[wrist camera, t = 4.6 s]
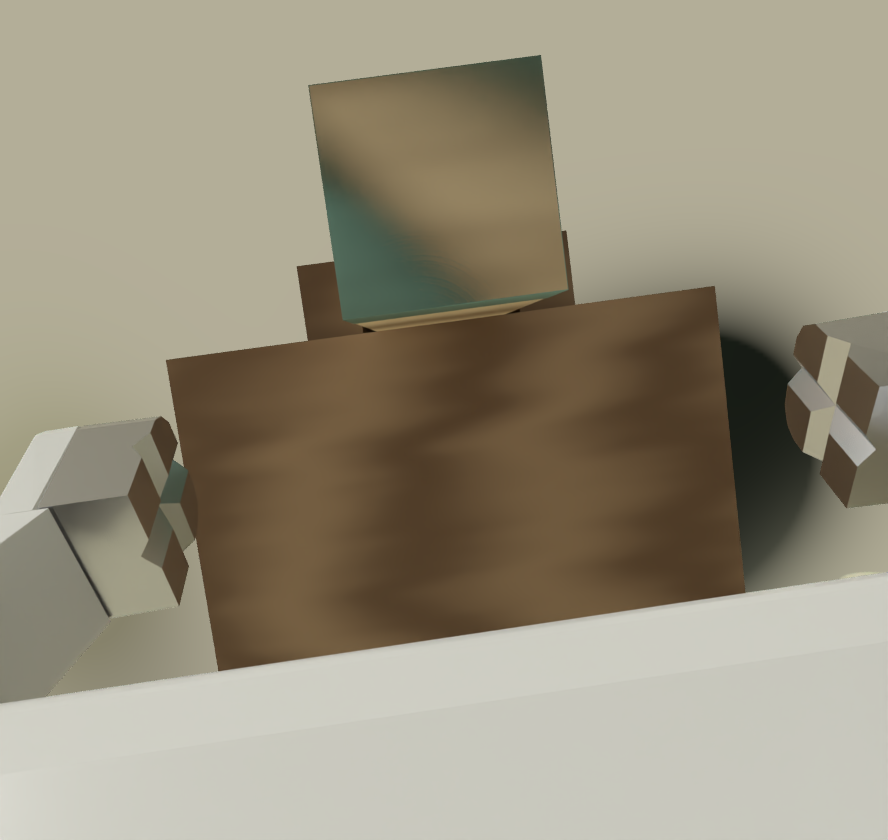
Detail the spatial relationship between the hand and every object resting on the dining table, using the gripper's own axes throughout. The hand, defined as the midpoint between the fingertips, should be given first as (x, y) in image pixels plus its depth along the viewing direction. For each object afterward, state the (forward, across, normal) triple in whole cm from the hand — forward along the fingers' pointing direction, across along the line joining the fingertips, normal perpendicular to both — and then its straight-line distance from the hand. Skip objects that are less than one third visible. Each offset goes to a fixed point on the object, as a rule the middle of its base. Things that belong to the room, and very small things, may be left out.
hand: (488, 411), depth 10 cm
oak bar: (+13, 0, +6) cm, 14 cm away
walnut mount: (+3, 0, +30) cm, 30 cm away
